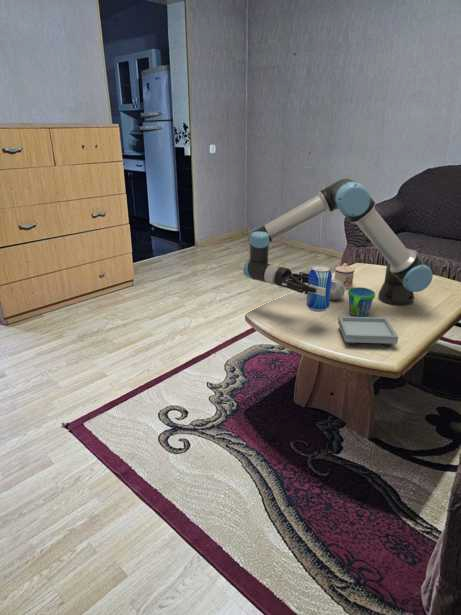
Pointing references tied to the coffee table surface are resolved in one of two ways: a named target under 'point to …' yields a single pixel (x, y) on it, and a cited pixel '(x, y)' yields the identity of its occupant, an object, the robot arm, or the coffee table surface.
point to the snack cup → (360, 301)
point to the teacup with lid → (344, 275)
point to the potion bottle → (337, 290)
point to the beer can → (321, 279)
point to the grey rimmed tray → (367, 330)
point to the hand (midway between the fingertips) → (330, 288)
